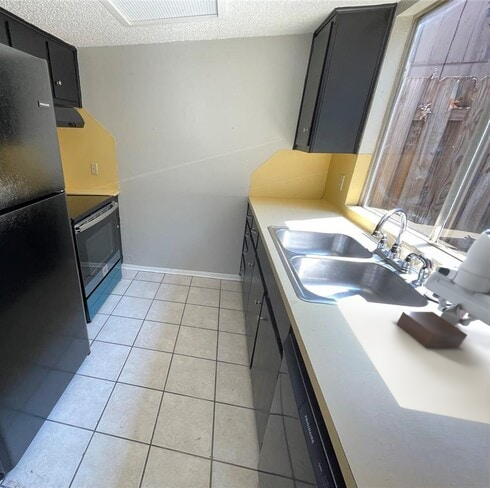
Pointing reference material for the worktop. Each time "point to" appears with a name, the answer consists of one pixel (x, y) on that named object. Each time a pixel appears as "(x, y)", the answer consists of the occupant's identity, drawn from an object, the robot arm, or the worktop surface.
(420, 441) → the worktop surface
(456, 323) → the white milk carton
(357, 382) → the worktop surface
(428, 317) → the walnut block
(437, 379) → the worktop surface
